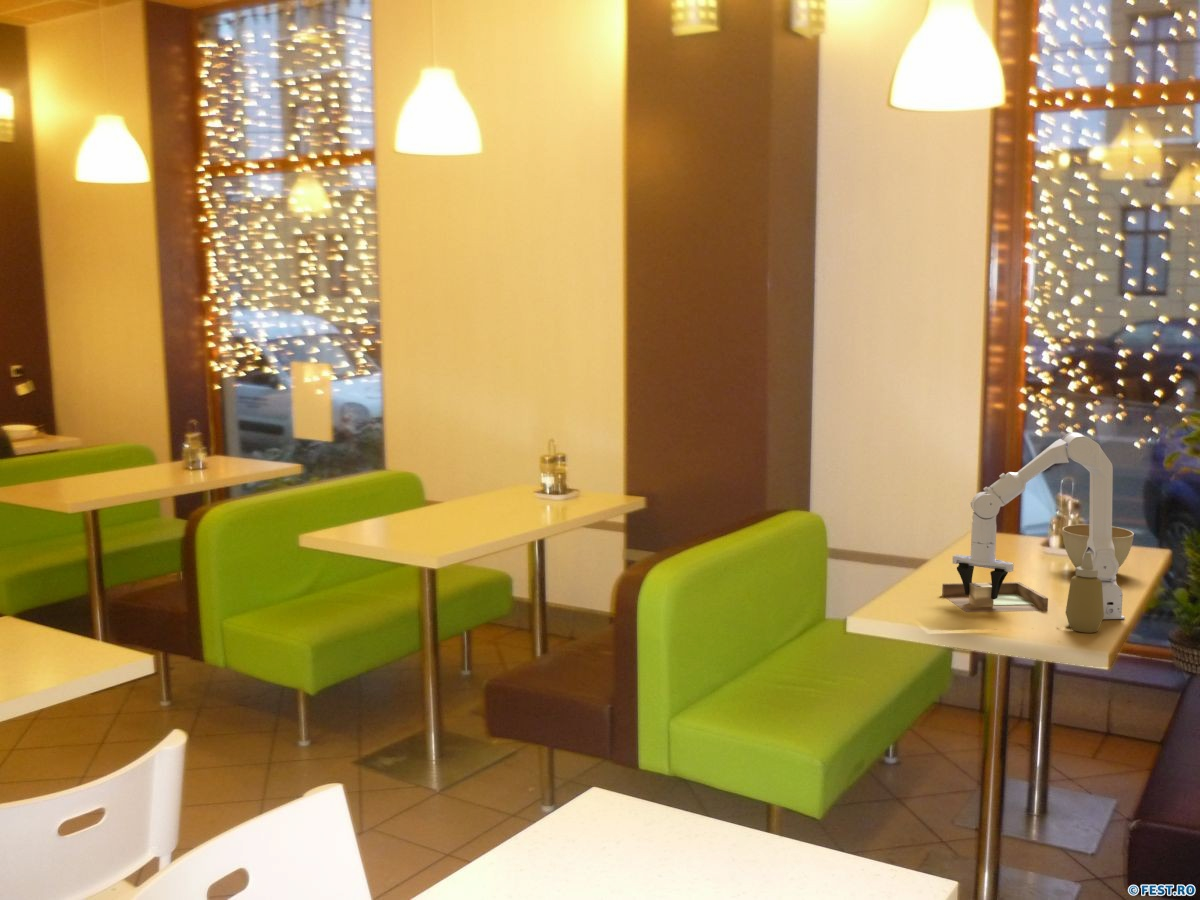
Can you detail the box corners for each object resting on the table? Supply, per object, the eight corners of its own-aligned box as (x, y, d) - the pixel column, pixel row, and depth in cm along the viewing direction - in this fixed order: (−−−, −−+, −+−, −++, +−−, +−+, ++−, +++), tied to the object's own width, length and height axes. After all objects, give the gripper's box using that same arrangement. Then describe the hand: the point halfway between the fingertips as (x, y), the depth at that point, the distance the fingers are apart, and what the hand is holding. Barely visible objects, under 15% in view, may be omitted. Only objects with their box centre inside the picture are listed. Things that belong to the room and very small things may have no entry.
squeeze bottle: (1064, 623, 264) (1068, 547, 261) (1102, 627, 261) (1106, 550, 258) (1064, 632, 256) (1068, 554, 254) (1103, 636, 253) (1107, 557, 251)
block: (993, 606, 275) (994, 586, 275) (975, 607, 275) (975, 586, 274) (986, 602, 279) (987, 582, 279) (968, 603, 279) (969, 582, 278)
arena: (1047, 613, 272) (1048, 598, 272) (966, 615, 271) (966, 599, 270) (1018, 596, 288) (1019, 582, 288) (942, 598, 287) (942, 583, 286)
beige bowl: (1046, 569, 318) (1048, 527, 317) (1096, 564, 324) (1099, 522, 323) (1094, 583, 301) (1096, 539, 300) (1146, 578, 307) (1149, 534, 306)
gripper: (1019, 543, 273) (1016, 597, 275) (961, 535, 283) (959, 588, 285) (1007, 547, 268) (1005, 603, 270) (949, 539, 278) (947, 593, 279)
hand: (981, 596), depth 277 cm, fingers closed on block, 6 cm apart
